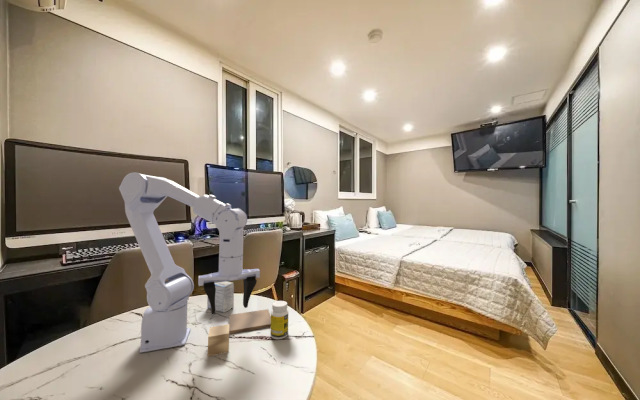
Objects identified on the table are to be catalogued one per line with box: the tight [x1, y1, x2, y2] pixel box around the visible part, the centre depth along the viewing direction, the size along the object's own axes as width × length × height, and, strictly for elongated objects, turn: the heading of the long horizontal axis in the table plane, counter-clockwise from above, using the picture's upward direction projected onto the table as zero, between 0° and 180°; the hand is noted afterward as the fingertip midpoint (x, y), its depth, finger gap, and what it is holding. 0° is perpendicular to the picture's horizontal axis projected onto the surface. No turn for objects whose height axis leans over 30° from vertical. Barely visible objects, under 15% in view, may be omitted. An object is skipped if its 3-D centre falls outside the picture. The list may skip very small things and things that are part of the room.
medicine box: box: [206, 281, 235, 313], centre depth 78 cm, size 8×4×9 cm, turn 65°
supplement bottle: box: [270, 300, 289, 340], centre depth 62 cm, size 5×5×8 cm
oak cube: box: [207, 323, 230, 357], centre depth 56 cm, size 4×4×4 cm
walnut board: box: [228, 308, 271, 335], centre depth 69 cm, size 12×10×1 cm
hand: (229, 309), depth 58 cm, fingers open, 7 cm apart
